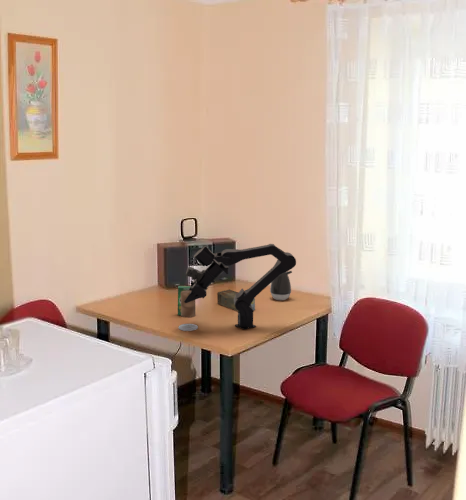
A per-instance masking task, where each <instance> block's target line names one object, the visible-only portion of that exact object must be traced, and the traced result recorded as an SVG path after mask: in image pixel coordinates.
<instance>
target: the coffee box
mask: <svg viewBox="0 0 466 500" xmlns="http://www.w3.org/2000/svg"><path fill="white" fill-rule="evenodd" d="M190 286H191V285H178V287H177V316H181V292H182V291H186V290H189V288H190Z"/></svg>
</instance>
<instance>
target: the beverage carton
mask: <svg viewBox="0 0 466 500" xmlns="http://www.w3.org/2000/svg"><path fill="white" fill-rule="evenodd" d="M237 293H238V292H237V291H236V290H233V289H226V290H222V291H217V293H216V295H217V304H218V305H219V306H222V307H226V308H228V309H230V310H232V311H233V310H234V311H235V312H238V310H237V309H236V308H235V304H234V297H235V296H236V295H235V294H237ZM251 305H252V308H253V310H254V311H255V310H256V297H255V298H254V300H253V302H252V303H251Z"/></svg>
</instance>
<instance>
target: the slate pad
mask: <svg viewBox="0 0 466 500" xmlns="http://www.w3.org/2000/svg"><path fill="white" fill-rule="evenodd" d="M198 329H199V328H198V325H197V324H193V323H182V324H180V325H179V326H178V330H180V331H183V332H192V331H195V330H198Z"/></svg>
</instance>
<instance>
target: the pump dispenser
mask: <svg viewBox="0 0 466 500" xmlns="http://www.w3.org/2000/svg"><path fill="white" fill-rule="evenodd" d="M292 273H293V271H292V270H289V271H287V272H285V273H283V274H281V275H279V276H278V277H277V278H276V279H275V280H274V281H272V282H271V283H270V288H269V289H270V290H269V292H270V295H271V298H273V299H274V300H276V301H285V300H287V299H289V298H290V296H291V293H292V286H291V285H292V284H291V281H290V277H289V275H290V274H292Z"/></svg>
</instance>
